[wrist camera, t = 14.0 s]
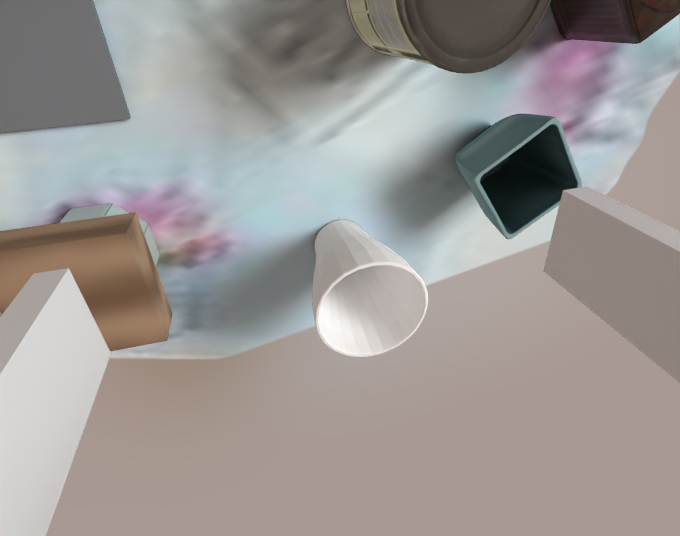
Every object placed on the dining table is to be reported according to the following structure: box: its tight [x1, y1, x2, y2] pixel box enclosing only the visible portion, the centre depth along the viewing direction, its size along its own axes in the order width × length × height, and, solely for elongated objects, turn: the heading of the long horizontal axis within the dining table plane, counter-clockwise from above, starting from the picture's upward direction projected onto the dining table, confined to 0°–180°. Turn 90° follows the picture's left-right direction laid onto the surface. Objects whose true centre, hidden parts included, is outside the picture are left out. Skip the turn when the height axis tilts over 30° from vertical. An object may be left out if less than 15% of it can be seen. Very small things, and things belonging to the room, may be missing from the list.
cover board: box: [0, 212, 172, 351], centre depth 35 cm, size 11×11×4 cm
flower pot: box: [455, 114, 582, 239], centre depth 42 cm, size 9×9×9 cm
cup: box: [312, 220, 428, 357], centre depth 42 cm, size 10×10×14 cm
